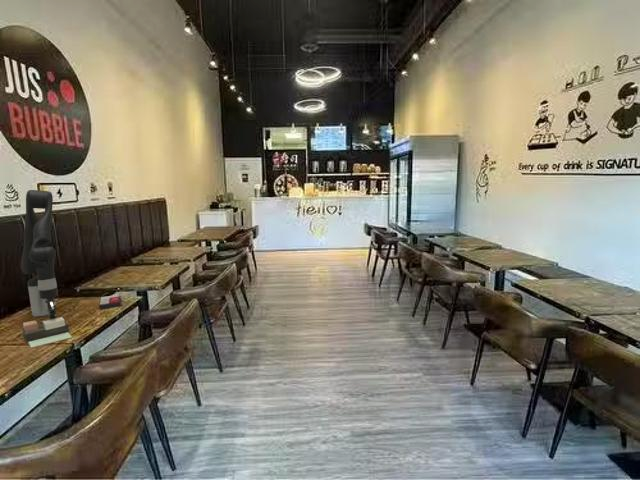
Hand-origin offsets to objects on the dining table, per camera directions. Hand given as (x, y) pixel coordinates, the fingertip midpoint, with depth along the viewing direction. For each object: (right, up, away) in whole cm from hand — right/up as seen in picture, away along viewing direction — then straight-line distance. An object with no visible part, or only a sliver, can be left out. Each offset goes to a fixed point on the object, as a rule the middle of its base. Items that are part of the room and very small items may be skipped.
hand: (53, 321), depth 200 cm
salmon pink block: (-7, -2, -6) cm, 9 cm away
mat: (+6, -7, -10) cm, 14 cm away
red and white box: (+7, +1, +42) cm, 43 cm away
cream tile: (+3, -2, -3) cm, 5 cm away
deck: (-2, -6, -2) cm, 6 cm away
